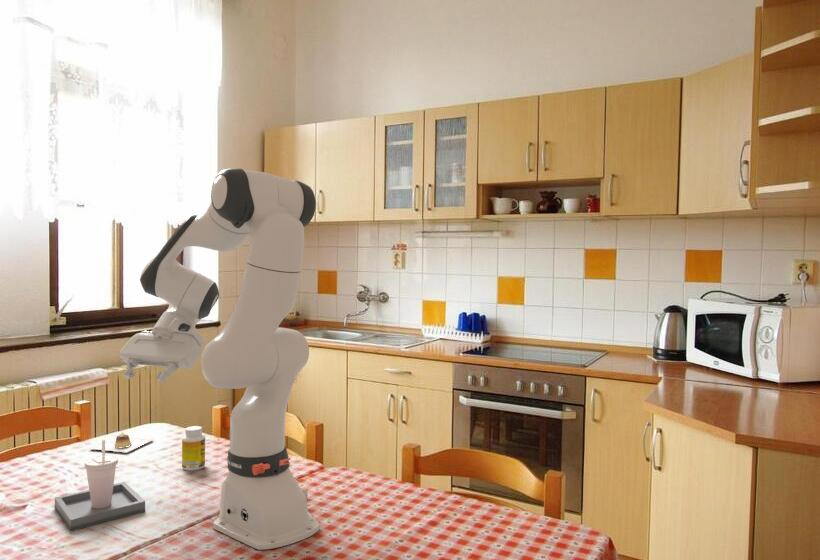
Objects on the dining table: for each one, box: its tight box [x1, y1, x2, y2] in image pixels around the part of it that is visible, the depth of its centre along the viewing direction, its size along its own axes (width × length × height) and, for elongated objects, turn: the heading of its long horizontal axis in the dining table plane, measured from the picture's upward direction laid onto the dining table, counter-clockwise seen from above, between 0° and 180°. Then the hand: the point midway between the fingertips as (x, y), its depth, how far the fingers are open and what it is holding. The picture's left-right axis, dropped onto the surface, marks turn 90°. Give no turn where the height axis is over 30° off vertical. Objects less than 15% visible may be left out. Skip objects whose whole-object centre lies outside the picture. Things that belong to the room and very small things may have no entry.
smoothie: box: [83, 439, 119, 509], centre depth 126 cm, size 6×6×14 cm
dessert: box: [89, 430, 155, 454], centre depth 168 cm, size 12×12×5 cm
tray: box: [54, 481, 146, 532], centre depth 126 cm, size 14×14×2 cm
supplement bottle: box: [181, 425, 206, 472], centre depth 151 cm, size 6×6×10 cm
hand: (143, 378), depth 141 cm, fingers open, 8 cm apart
